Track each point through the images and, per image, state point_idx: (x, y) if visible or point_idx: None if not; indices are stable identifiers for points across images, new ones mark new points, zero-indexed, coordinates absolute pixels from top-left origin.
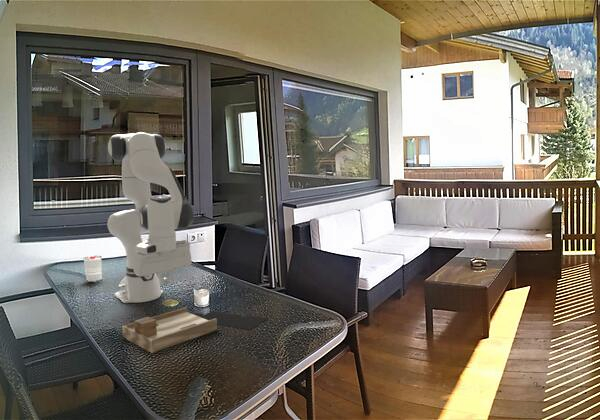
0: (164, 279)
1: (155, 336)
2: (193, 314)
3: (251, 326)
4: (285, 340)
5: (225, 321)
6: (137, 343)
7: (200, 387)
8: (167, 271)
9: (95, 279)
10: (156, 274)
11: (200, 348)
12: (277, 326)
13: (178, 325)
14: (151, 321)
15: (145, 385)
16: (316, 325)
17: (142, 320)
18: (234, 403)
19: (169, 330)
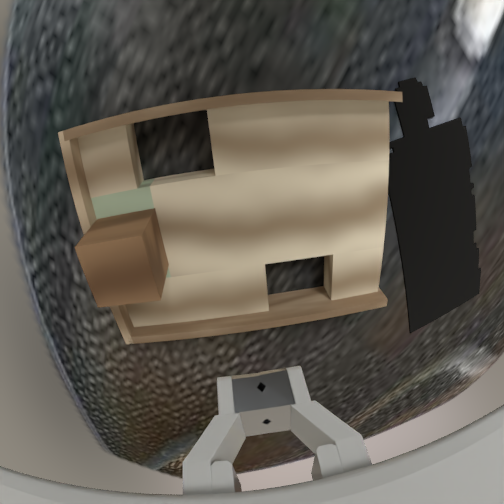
0: (252, 433)
1: None
2: (410, 89)
3: (428, 316)
4: (396, 397)
5: (427, 241)
6: None
7: (182, 449)
8: (316, 474)
9: None
10: (186, 468)
11: (256, 362)
12: (448, 341)
13: (277, 233)
14: (139, 302)
15: (103, 413)
16: (470, 365)
17: (106, 269)
18: None
19: (223, 259)
